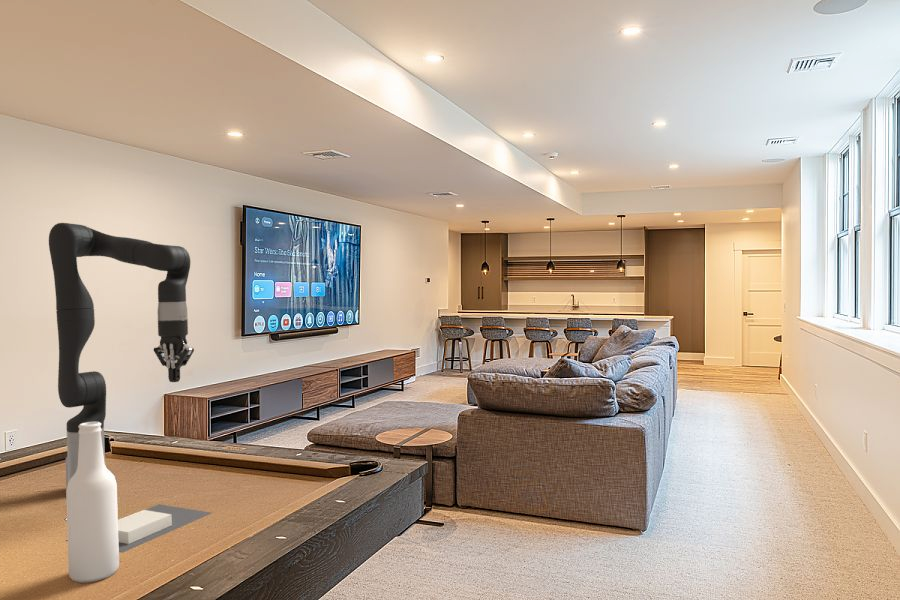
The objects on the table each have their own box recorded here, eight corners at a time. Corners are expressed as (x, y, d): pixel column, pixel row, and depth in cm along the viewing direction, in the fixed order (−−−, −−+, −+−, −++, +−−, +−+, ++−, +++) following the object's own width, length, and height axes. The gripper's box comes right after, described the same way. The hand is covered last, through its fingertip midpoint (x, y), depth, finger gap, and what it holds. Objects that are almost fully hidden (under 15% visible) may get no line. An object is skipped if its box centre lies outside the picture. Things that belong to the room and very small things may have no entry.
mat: (65, 542, 146) (65, 540, 146) (159, 505, 170) (159, 504, 170) (122, 554, 139) (122, 552, 139) (212, 514, 163) (212, 512, 163)
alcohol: (65, 587, 124) (60, 430, 123) (72, 569, 132) (67, 421, 131) (117, 578, 127) (113, 425, 127) (120, 561, 136) (116, 417, 135)
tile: (144, 520, 158) (99, 538, 147) (143, 509, 158) (99, 526, 147) (171, 525, 154) (128, 544, 143) (171, 514, 154) (128, 532, 143)
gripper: (143, 319, 178) (145, 382, 178) (180, 319, 173) (182, 384, 173) (165, 317, 185) (167, 379, 185) (201, 317, 179) (203, 380, 180)
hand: (174, 381), depth 179 cm, fingers closed
